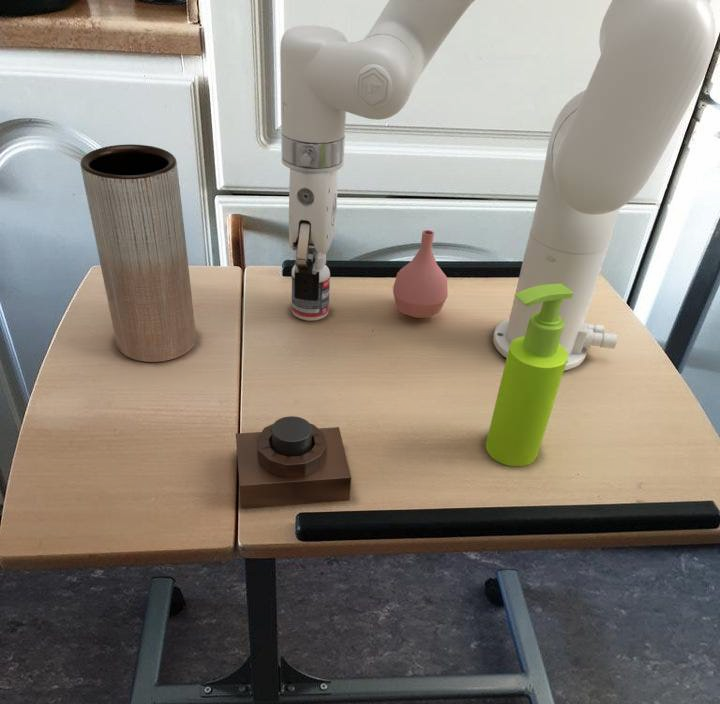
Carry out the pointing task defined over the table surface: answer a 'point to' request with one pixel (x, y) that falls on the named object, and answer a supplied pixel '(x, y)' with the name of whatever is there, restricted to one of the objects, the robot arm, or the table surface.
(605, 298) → the table surface
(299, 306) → the pill bottle
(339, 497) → the brown button base
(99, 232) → the planter
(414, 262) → the pink vase
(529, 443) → the soap dispenser
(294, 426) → the dark grey push button
